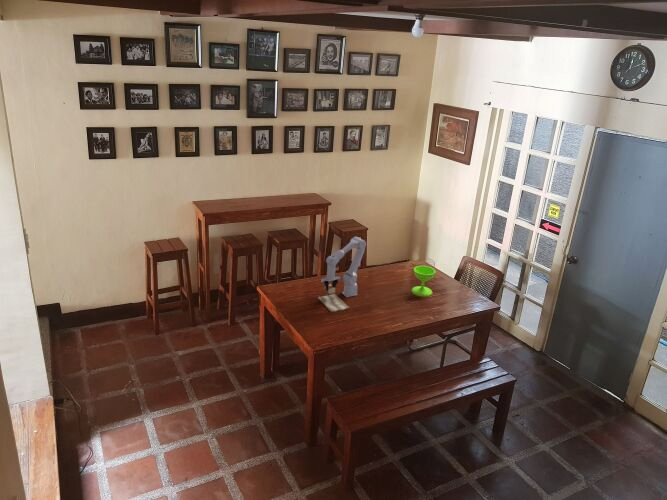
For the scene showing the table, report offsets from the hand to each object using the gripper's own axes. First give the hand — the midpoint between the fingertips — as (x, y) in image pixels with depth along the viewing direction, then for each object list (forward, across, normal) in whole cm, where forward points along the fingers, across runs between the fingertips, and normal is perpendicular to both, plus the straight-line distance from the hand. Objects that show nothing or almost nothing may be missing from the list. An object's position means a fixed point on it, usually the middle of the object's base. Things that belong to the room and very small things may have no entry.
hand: (330, 289), depth 380 cm
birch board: (+8, 0, +6) cm, 10 cm away
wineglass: (+8, -72, +13) cm, 74 cm away
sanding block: (+2, 0, 0) cm, 2 cm away
